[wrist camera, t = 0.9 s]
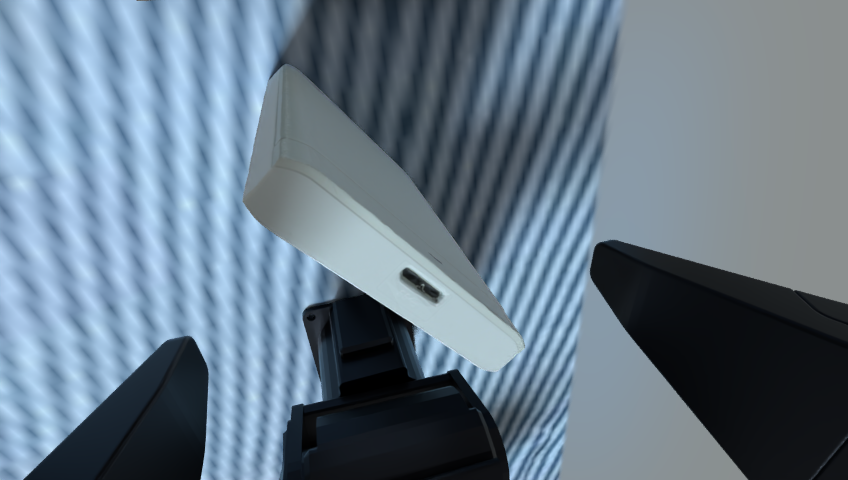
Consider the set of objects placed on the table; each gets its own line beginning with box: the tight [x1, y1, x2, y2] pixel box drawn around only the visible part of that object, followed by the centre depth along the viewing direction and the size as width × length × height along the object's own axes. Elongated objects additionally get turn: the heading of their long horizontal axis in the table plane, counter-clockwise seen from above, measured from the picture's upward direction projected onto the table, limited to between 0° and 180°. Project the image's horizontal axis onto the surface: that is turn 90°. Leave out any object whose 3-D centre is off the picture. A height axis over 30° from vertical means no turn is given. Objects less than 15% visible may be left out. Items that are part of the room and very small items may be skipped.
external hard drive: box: [243, 64, 525, 372], centre depth 14 cm, size 2×8×12 cm, turn 41°
